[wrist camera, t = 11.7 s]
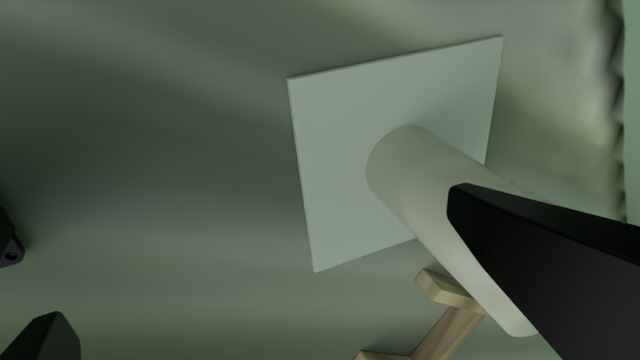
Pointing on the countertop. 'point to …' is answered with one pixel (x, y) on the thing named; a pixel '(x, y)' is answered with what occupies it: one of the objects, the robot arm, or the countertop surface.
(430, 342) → the holder
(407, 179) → the pale grey rounded piece
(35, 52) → the countertop surface
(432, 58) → the mat
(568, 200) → the countertop surface
